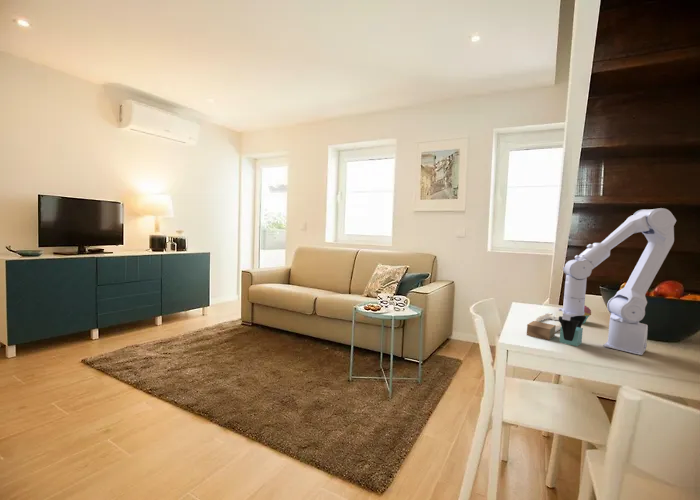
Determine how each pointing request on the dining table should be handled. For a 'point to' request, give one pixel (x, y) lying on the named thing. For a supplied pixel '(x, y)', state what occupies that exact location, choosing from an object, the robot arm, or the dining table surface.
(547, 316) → the white curved loop
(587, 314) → the cupcake
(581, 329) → the teal cube
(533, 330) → the walnut block
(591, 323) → the dining table surface
